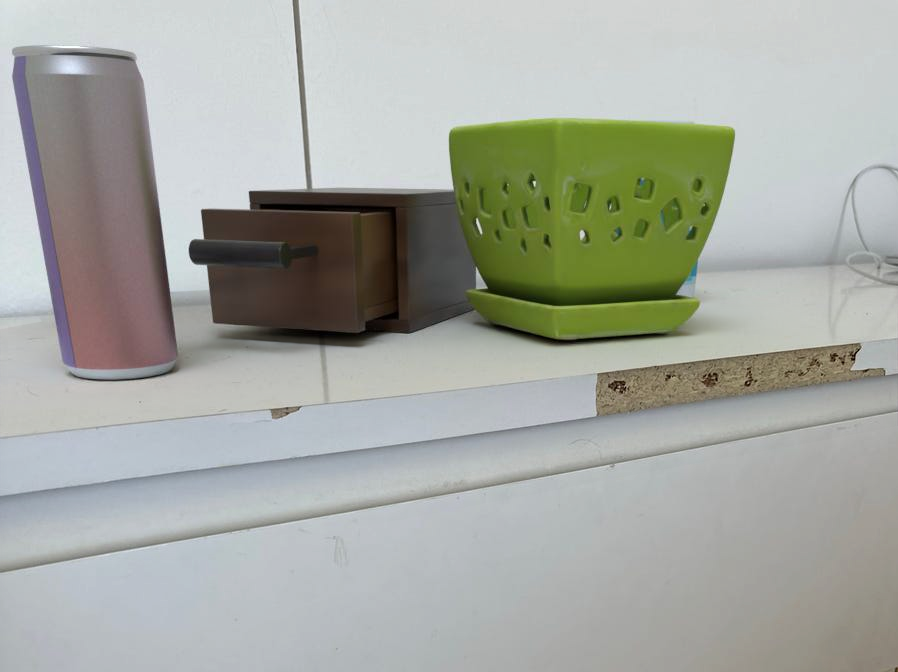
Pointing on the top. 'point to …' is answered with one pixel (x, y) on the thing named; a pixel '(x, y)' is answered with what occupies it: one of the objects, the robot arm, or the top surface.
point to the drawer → (300, 266)
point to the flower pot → (587, 220)
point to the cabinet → (405, 248)
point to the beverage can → (97, 208)
